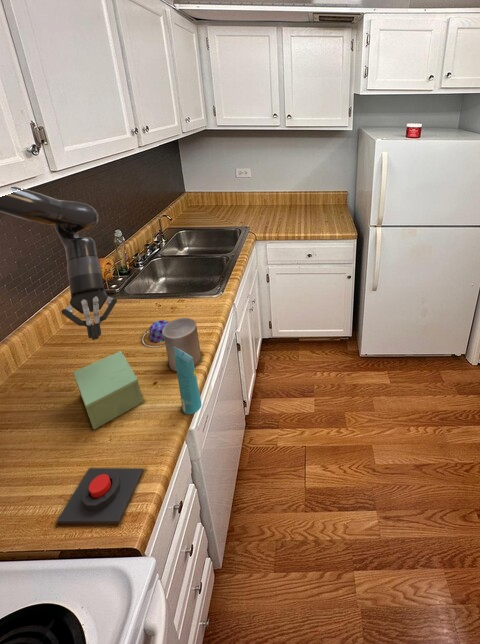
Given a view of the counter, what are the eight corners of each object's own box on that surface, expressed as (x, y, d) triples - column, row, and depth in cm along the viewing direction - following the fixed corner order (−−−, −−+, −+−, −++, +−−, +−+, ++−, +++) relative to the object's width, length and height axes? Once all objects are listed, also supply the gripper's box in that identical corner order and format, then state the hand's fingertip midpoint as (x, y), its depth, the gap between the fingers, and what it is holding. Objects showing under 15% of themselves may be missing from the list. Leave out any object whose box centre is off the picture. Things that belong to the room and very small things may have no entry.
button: (86, 498, 67) (84, 492, 66) (97, 479, 70) (95, 474, 70) (104, 498, 67) (102, 492, 66) (114, 479, 70) (112, 474, 70)
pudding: (183, 339, 116) (181, 327, 114) (146, 353, 109) (143, 340, 107) (175, 322, 125) (173, 310, 123) (140, 333, 119) (137, 321, 117)
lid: (138, 381, 87) (137, 379, 87) (86, 408, 80) (85, 405, 80) (121, 352, 97) (121, 350, 97) (73, 374, 90) (72, 371, 89)
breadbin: (143, 404, 91) (137, 379, 88) (94, 431, 84) (85, 406, 80) (127, 376, 100) (121, 352, 97) (82, 398, 93) (73, 374, 90)
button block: (58, 526, 65) (53, 515, 64) (91, 473, 74) (87, 462, 73) (119, 526, 65) (116, 515, 64) (144, 473, 74) (141, 462, 73)
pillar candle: (198, 348, 112) (193, 310, 106) (204, 367, 104) (198, 328, 98) (167, 357, 108) (160, 319, 102) (170, 378, 100) (162, 338, 94)
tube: (208, 406, 91) (200, 351, 84) (195, 421, 87) (185, 363, 80) (189, 396, 94) (179, 341, 87) (175, 409, 90) (164, 353, 83)
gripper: (53, 277, 83) (63, 347, 80) (114, 268, 91) (125, 330, 88) (55, 283, 89) (64, 348, 86) (112, 273, 97) (122, 332, 94)
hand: (95, 339), depth 87 cm, fingers closed
